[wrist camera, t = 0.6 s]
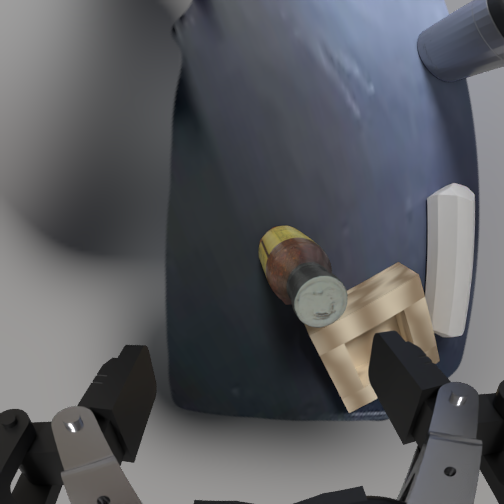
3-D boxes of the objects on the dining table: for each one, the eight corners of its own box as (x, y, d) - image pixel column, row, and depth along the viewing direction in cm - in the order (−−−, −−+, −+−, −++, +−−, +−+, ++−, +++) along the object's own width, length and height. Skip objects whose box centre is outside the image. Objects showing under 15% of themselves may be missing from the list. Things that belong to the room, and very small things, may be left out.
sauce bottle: (291, 278, 42) (330, 359, 23) (248, 257, 42) (258, 330, 22) (315, 234, 41) (377, 287, 22) (272, 212, 40) (304, 249, 21)
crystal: (473, 330, 42) (484, 182, 36) (457, 350, 39) (470, 185, 33) (438, 319, 49) (443, 180, 43) (418, 336, 45) (424, 183, 39)
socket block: (398, 262, 43) (418, 274, 37) (422, 342, 46) (439, 360, 40) (300, 315, 44) (309, 335, 38) (338, 389, 48) (348, 413, 42)
